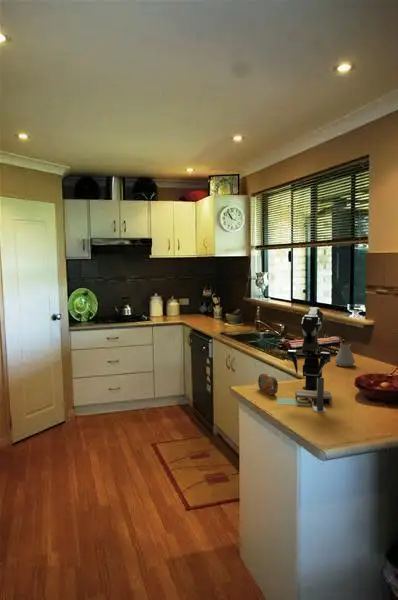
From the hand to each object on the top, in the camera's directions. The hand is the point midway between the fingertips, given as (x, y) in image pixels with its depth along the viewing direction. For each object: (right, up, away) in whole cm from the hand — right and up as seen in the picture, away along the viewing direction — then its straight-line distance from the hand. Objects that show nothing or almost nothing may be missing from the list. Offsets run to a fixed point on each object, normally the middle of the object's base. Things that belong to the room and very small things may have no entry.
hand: (307, 374), depth 201 cm
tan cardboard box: (+4, -13, +4) cm, 14 cm away
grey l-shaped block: (+4, -13, -2) cm, 14 cm away
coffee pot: (+40, -6, +79) cm, 88 cm away
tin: (-14, -12, +19) cm, 27 cm away
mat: (-5, -13, +5) cm, 15 cm away
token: (0, -13, +4) cm, 13 cm away
